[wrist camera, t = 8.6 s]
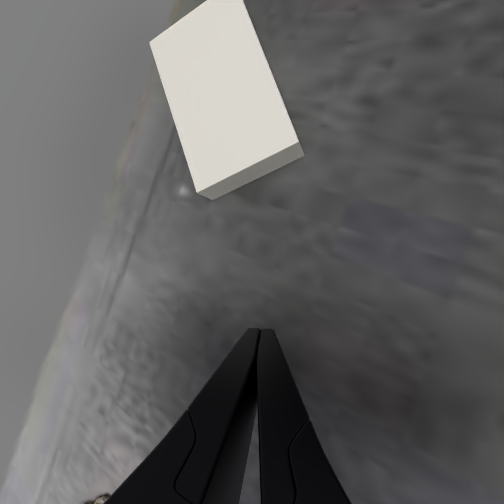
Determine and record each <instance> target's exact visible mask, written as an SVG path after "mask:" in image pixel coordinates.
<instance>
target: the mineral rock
mask: <svg viewBox="0 0 504 504" xmlns="http://www.w3.org/2000/svg"><path fill="white" fill-rule="evenodd" d="M108 498H109V497H107V496H103V497H100V498H99V497H98V498H97V499H96V500H95V502H94V503H90V504H103V503H104V502H105V501H106V500H107V499H108Z"/></svg>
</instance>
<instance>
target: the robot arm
mask: <svg viewBox="0 0 504 504" xmlns="http://www.w3.org/2000/svg"><path fill="white" fill-rule="evenodd" d="M257 403H258V432H259V462H260V492H261V504H351V502H350V500H349V498H348V497H347V495H346V493H345V491H344V489H343V487H342V486H341V484H340V482H339V480H338V478H337V476H336V475H335V473H334V471H333V469H332V467H331V465H330V463H329V461H328V459H327V457H326V455H325V453H324V451H323V449H322V446H321V444H320V442H319V440H318V437H317V435H316V433H315V430H314V428H313V425H312V423H311V421H310V420H309V416H308V413H307V411H306V408H305V406H304V403H303V401H302V399H301V396H300V394H299V391H298V389H297V386H296V384H295V381H294V379H293V376H292V374H291V371H290V369H289V366H288V364H287V362H286V359H285V357H284V354H283V352H282V349H281V347H280V344H279V342H278V339H277V337H276V334H275V332H274V330H273V329H261V330H260V329H259V328H249V329H247V331H246V332H245V333H244V335H243V336H242V337H241V338H240V340H239V341H238V342H237V344H236V345H235V346H234V348H233V349H232V350H231V352H230V353H229V354H228V356H227V357H226V358H225V359H224V361H223V362H222V363H221V365H220V366H219V367H218V369H217V370H216V371H215V373H214V374H213V375H212V377H211V378H210V379H209V381H208V382H207V383H206V384H205V386H204V387H203V388H202V390H201V391H200V392H199V394H198V395H197V396H196V398H195V399H194V400H193V402H192V403H191V404H190V405H189V407H188V410H186V411H185V412H184V413H183V415H182V416H181V417H180V418H179V420H178V421H177V422H176V424H175V425H174V426H173V427H172V429H171V430H170V431H169V432H168V434H167V435H166V436H165V437H164V438H163V440H162V441H161V442H160V443H159V444H158V445H157V446H156V447H155V448H154V450H153V451H152V452H151V453H150V454H149V455H148V456H147V457H146V458H145V459H144V461H143V462H142V463H141V464H140V465H139V466H138V467H137V468H136V469H135V470H134V471H133V472H132V473H131V475H130V476H129V477H128V478H127V479H126V480H125V481H124V482H123V483H122V484H121V485H120V486H119V487H118V489H117V490H116V491H115V492H114V493H113V494H112V495H111V496H110V497H109V498H108V499H107V500H106V501H105V502H104V503H103V504H239V499H240V494H241V488H242V483H243V478H244V473H245V467H246V462H247V457H248V451H249V446H250V441H251V435H252V430H253V425H254V420H255V414H256V409H257Z"/></svg>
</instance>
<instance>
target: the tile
mask: <svg viewBox="0 0 504 504" xmlns="http://www.w3.org/2000/svg"><path fill="white" fill-rule="evenodd" d="M150 45H151V49H152V52H153V55H154V58H155V61H156V65H157V68H158V71H159V74H160V77H161V80H162V84H163V87H164V90H165V93H166V96H167V99H168V103H169V106H170V109H171V112H172V115H173V118H174V122H175V125H176V128H177V131H178V134H179V137H180V141H181V144H182V147H183V150H184V153H185V156H186V160H187V163H188V166H189V169H190V172H191V176H192V179H193V182H194V185H195V188H196V191H197V193H198V194H201V195H203V196H205V197H207V198H209V199H211V200H214V199H216V198H218V197H220V196H222V195H224V194H226V193H228V192H230V191H232V190H235V189H237V188H239V187H241V186H243V185H245V184H247V183H249V182H251V181H253V180H255V179H257V178H260V177H262V176H264V175H266V174H268V173H270V172H272V171H274V170H276V169H278V168H280V167H282V166H284V165H287V164H289V163H291V162H293V161H295V160H297V159H299V158H301V157H303V156H305V155H304V153H303V150H302V148H301V145H300V142H299V140H298V137H297V135H296V132H295V130H294V127H293V125H292V122H291V120H290V117H289V115H288V112H287V110H286V107H285V105H284V102H283V100H282V97H281V95H280V92H279V90H278V87H277V85H276V82H275V80H274V77H273V75H272V72H271V70H270V67H269V65H268V62H267V60H266V57H265V55H264V52H263V50H262V47H261V45H260V42H259V40H258V37H257V35H256V32H255V29H254V27H253V24H252V22H251V19H250V17H249V14H248V12H247V9H246V7H245V4H244V2H243V0H207V1H205V2H204V3H203V4H201V5H200V6H198V7H197V8H196V9H194V10H193V11H192V12H190V13H189V14H187V15H186V16H185V17H183V18H182V19H181V20H179V21H178V22H177V23H175V24H174V25H172V26H171V27H170V28H168V29H167V30H166V31H164V32H163V33H161V34H160V35H159V36H157V37H156V38H155V39H153V40H152V41H151V42H150Z"/></svg>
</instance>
